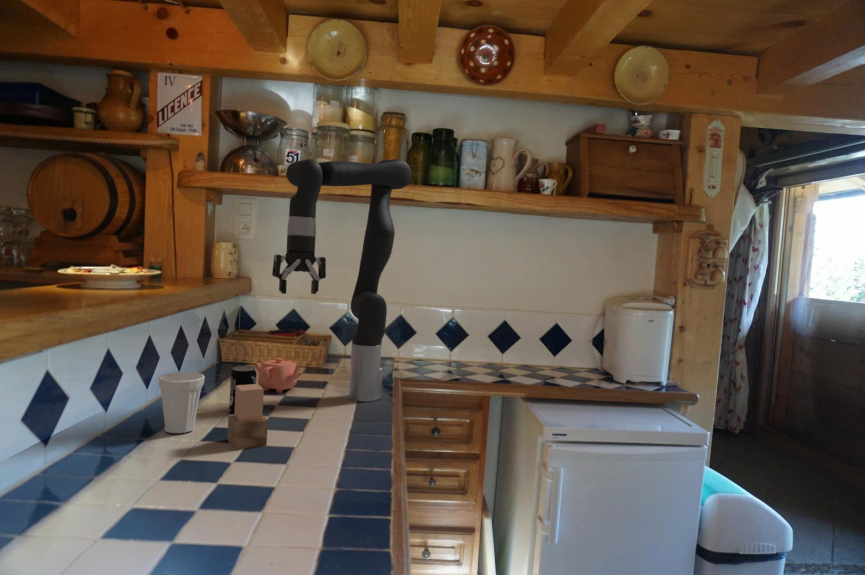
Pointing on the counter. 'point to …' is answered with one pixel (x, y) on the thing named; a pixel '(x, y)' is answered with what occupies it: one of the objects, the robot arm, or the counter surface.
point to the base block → (247, 432)
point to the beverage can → (240, 381)
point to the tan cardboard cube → (249, 402)
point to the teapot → (277, 374)
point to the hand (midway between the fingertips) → (298, 293)
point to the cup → (180, 399)
